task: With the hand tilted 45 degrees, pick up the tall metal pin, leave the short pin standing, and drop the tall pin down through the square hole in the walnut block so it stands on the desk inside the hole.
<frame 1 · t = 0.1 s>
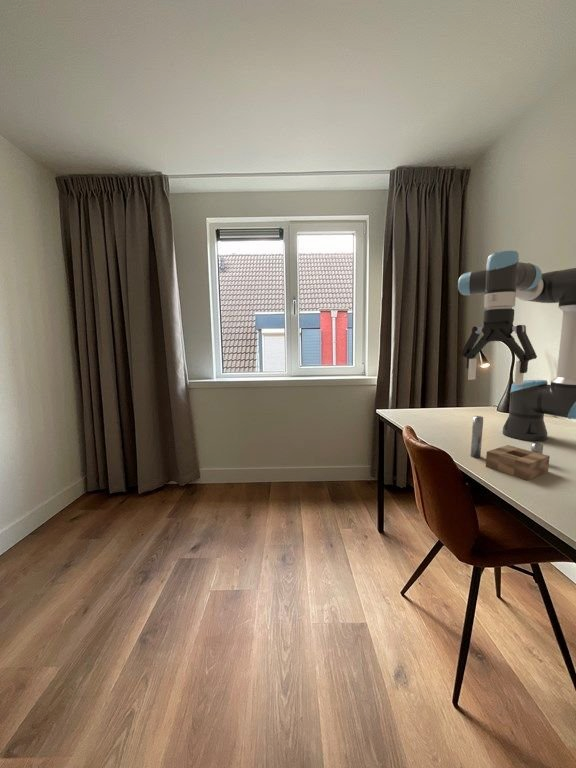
hand: (493, 382, 99), 28 cm above the table, tool pointing down, fingers open, 13 cm apart
long pin: (475, 456, 115), on the table
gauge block: (516, 469, 104), on the table
short pin: (535, 461, 110), on the table
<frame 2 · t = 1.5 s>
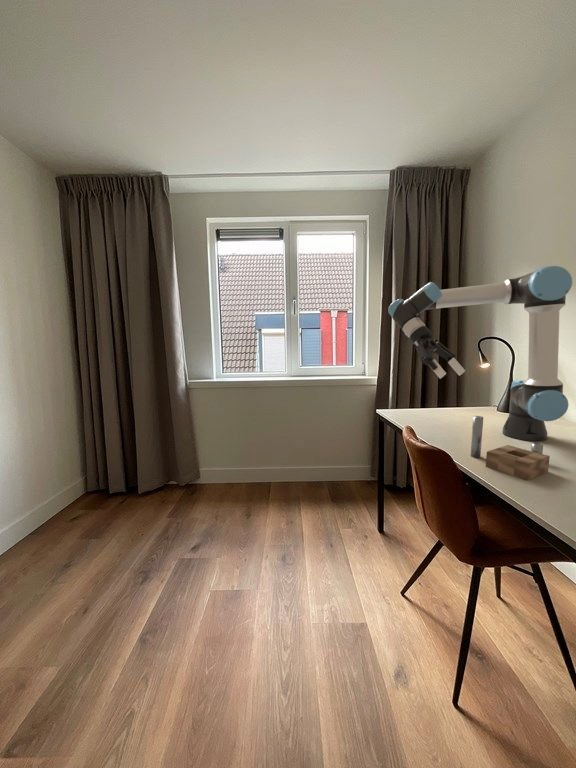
hand: (453, 374, 119), 28 cm above the table, tool tilted 45°, fingers open, 13 cm apart
nothing on the table moved.
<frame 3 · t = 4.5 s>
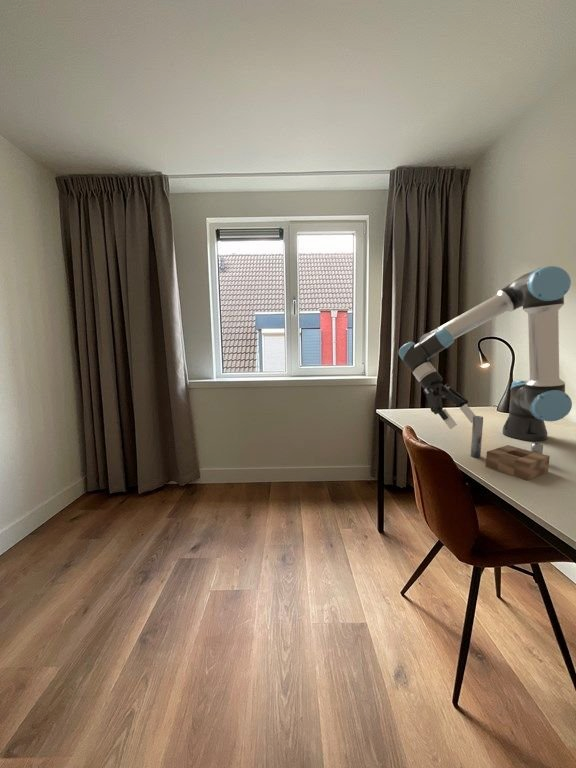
hand: (464, 423, 116), 11 cm above the table, tool tilted 45°, fingers open, 13 cm apart
nothing on the table moved.
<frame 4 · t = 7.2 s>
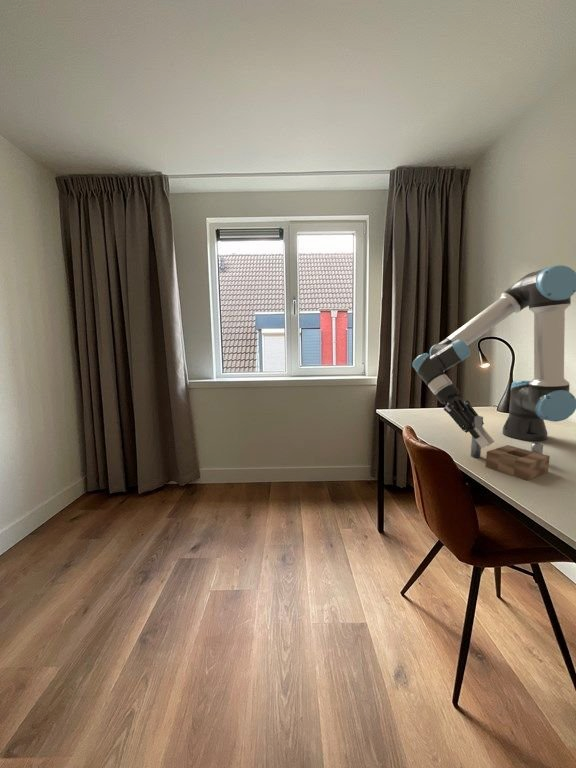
hand: (488, 444, 111), 5 cm above the table, tool tilted 45°, fingers closed on long pin, 3 cm apart
long pin: (475, 456, 115), on the table, touching gripper
everything else where it was.
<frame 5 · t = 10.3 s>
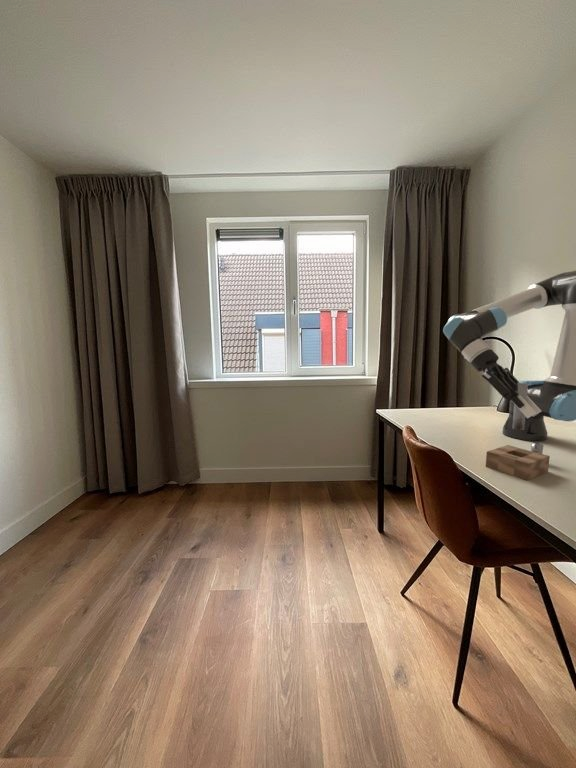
hand: (534, 414, 98), 18 cm above the table, tool tilted 45°, fingers closed on long pin, 3 cm apart
long pin: (518, 428, 102), point 13 cm above the table, touching gripper
everything else where it was.
when the fingers open (8 cm above the table, at t = 13.3 s): long pin drops 3 cm, resting in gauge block.
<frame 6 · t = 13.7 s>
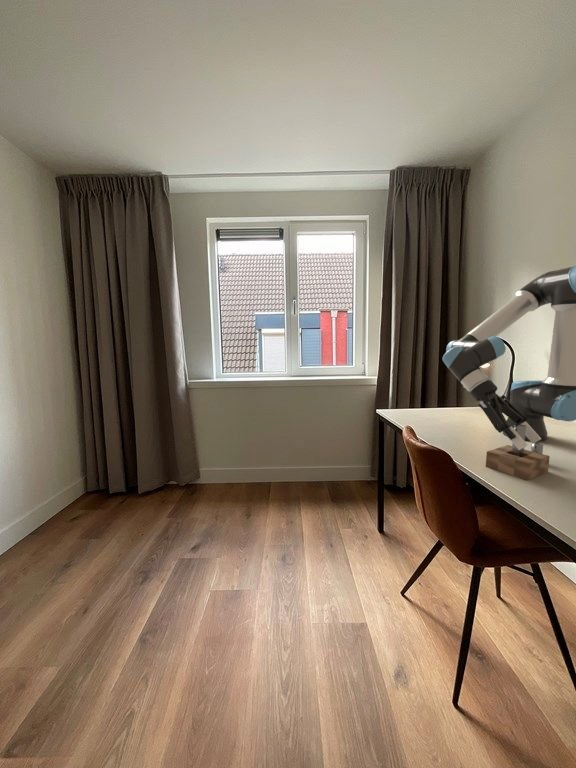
hand: (530, 444, 100), 9 cm above the table, tool tilted 45°, fingers open, 9 cm apart
long pin: (515, 469, 104), resting in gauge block
everything else where it was.
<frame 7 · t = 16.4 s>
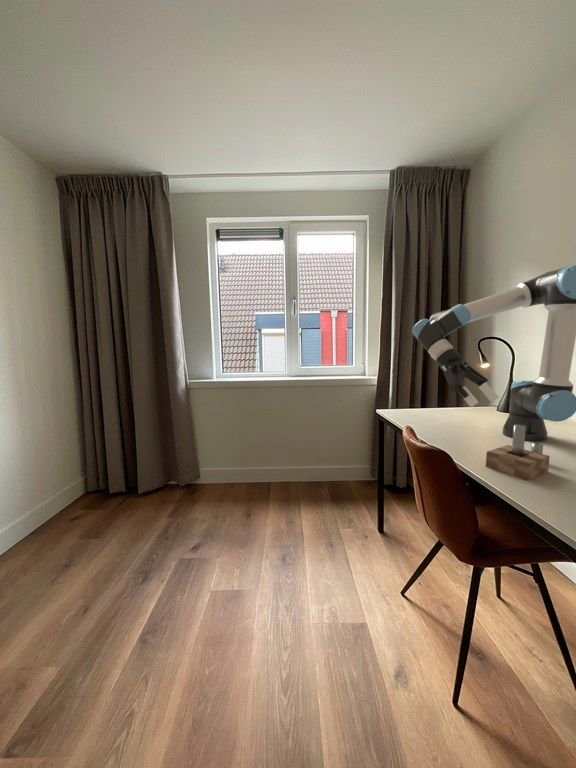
hand: (485, 402, 110), 20 cm above the table, tool tilted 45°, fingers open, 13 cm apart
nothing on the table moved.
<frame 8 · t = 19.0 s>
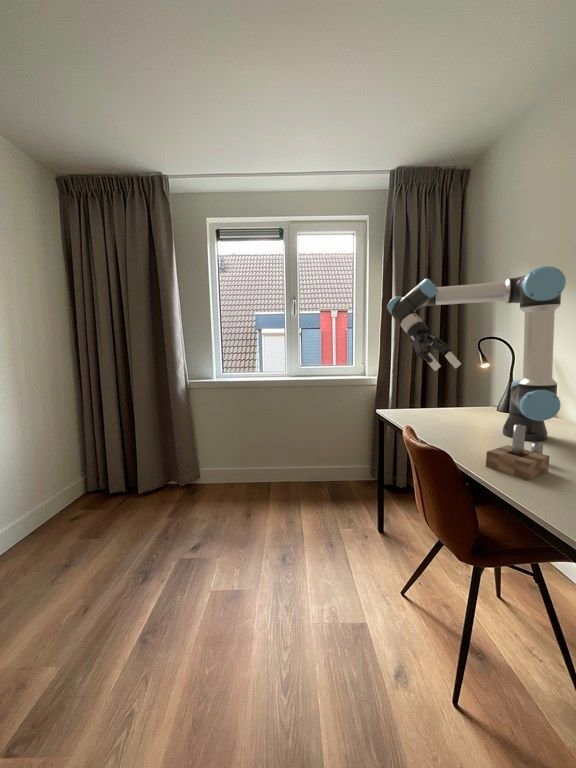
hand: (448, 367, 124), 30 cm above the table, tool tilted 45°, fingers open, 13 cm apart
nothing on the table moved.
at the end: long pin 0.1 cm off-centre on the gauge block, point 0.0 cm above the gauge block's base; long pin tilted 0°; short pin moved 0.0 cm from its start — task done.
